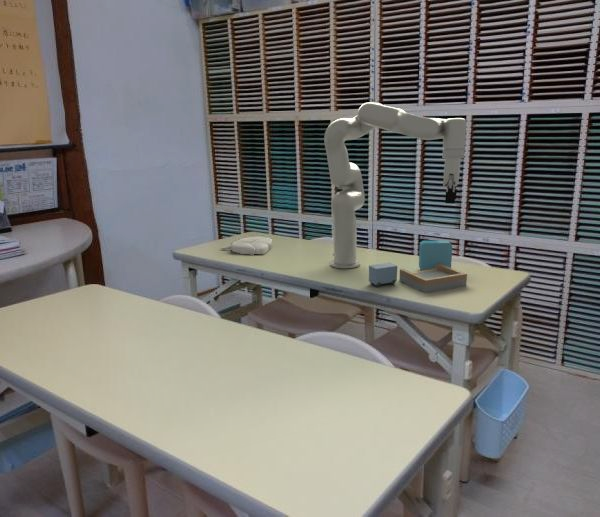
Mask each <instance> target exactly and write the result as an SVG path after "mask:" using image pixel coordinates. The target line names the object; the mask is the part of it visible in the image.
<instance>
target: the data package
mask: <svg viewBox="0 0 600 517" xmlns="http://www.w3.org/2000/svg"><path fill="white" fill-rule="evenodd" d="M418 252H419V253H418V254H419V255H418V256H419V258H418V268H419V270H420V271H424V270H431V269H436V264H438V263H439V264H442V265H445V266H447V267H450V268H452V258H453V245H452V243H450V241H449V240H422V241H420V243H419V251H418Z"/></svg>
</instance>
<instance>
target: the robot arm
mask: <svg viewBox="0 0 600 517" xmlns="http://www.w3.org/2000/svg"><path fill="white" fill-rule="evenodd" d="M376 128H378V129H382V130H385V131H389V132H393V133H396V134H401V135H404V136H408V137H412V138H415V139H419V140H425V141H433V140H439V139H442V142H443V143H442V159H444V167H443V183H442V186H443V187H446V191H445V198H444V199H445V200H444V201H445V202H444V203H445V204H455V202H456V201H455V200H457V191H458V188H457V186H458V184H459V178H460V172H461V159H465V153H466V152H465V150H466V149H465V148H466V136H467V135H466V132H467V121H466V118H462V117H455V118H454V117H453V118H447V119H446V118H439V117H437V118H436V117H425V116H422V115H415V114H412V113H409V112H406V111H404V110H403V109H402V108H398V107H393V106H388V105H383V103H379V102H365V103H362V104H361V106H359V108H358V110H357V115H355V116H353V117H351V118H348V117H342V118H338V119H336V120H334V121H333V122H331V123H330V124H329V125H328V127H327V128H326V129H325V132H324V135H323V136H324V137H323V138H324V140H323V141H324V148H325V153H326V157H327V165H328V171H329V178H330V181H331V184H332V185H333V186H334V187H337V188H342V190H340V191H338V192H337V193H335V194H334V196H333V197H332V200H331V211H332V218H333V219H332V220H333V253H332V256H333V260H331V261H330V264H329V265H330V266H331V267H332V268H336V269H344V270H345V269H355V268H358V267H359V266H360V265H361V262H360V261H359V260H358V259H357V235H358V234H357V230H358V229H357V217H356V211H357V210H359V209H361V208H362V207H363V206H364V204H365V201H366V198H365V197H366V195H365V189H364V183H363V177H362V172H361V170H360V167H359V166H358V165H357V164H355V163H354V162H350V160H349V152H348V149H347V146H346V145H345V142H346V141H352V140H358V139H359V138H362V137H363V136H365V135H366V134H368V133H370V132H372V131H373V130H375V129H376Z"/></svg>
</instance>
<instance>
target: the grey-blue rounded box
mask: <svg viewBox="0 0 600 517" xmlns="http://www.w3.org/2000/svg"><path fill="white" fill-rule="evenodd" d="M397 281H398V265H396V264H395V263H391V262H385V263H378V264H371V265H370V264H369V265H368V282H369V283H370V284H371V285H374V286H375V287H377V288H379V287H380V286H381V285H383V284H391V285H395V284H396V282H397Z"/></svg>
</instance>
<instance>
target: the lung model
mask: <svg viewBox="0 0 600 517" xmlns="http://www.w3.org/2000/svg"><path fill="white" fill-rule="evenodd" d="M272 242H273V240H272V239H271V238H269V237H263V236H249V237H244V238H240V239H237V240H236V241H235V242H232V243H230V245H228V246H223V247H220V248H219V250H220V251H225V250H230V251H233V253H236V254H239V253H240V255H243V254H251V255H250V256H255V255H254V254H264V255H266V254H267V253H268V252H269V250H271V248H272V246H273V243H272ZM265 253H266V254H265Z"/></svg>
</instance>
